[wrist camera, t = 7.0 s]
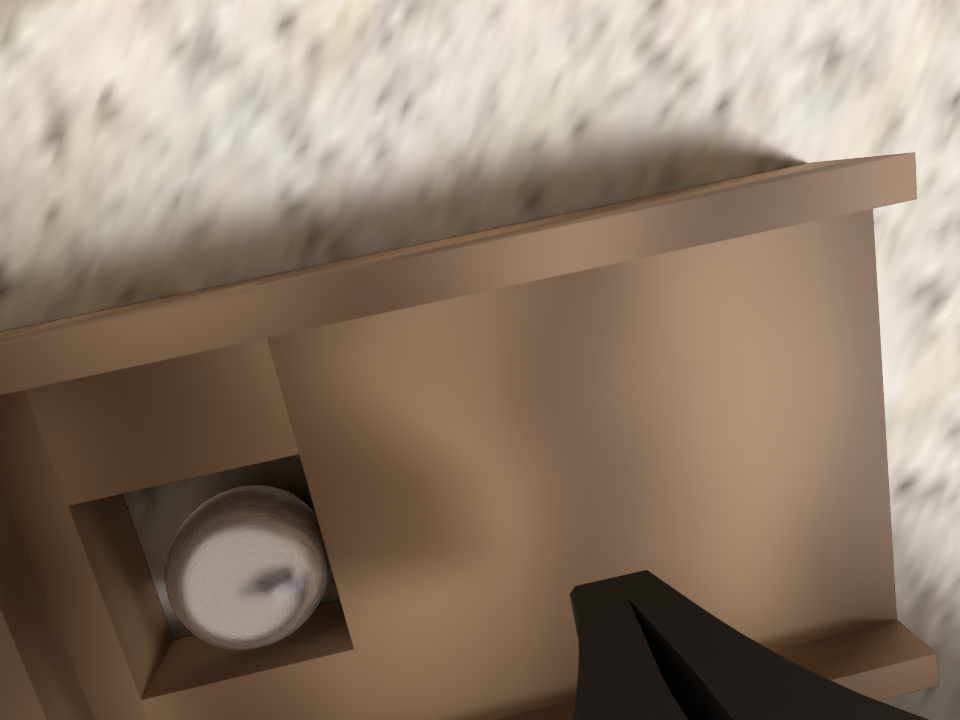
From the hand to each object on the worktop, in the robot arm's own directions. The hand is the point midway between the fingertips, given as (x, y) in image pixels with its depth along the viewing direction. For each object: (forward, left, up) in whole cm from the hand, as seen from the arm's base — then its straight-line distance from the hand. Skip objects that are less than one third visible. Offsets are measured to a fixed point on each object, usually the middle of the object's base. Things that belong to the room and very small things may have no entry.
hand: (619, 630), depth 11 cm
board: (+2, -1, -5) cm, 6 cm away
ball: (+7, -1, -3) cm, 7 cm away
